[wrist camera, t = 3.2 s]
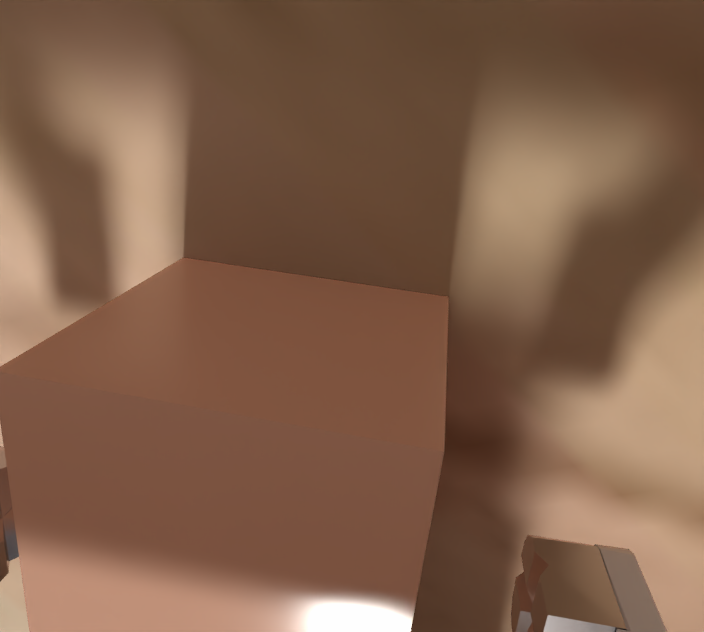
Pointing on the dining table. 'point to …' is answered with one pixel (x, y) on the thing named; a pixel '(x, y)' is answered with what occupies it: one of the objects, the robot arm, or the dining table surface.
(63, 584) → the cube
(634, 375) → the dining table surface
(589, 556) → the robot arm
